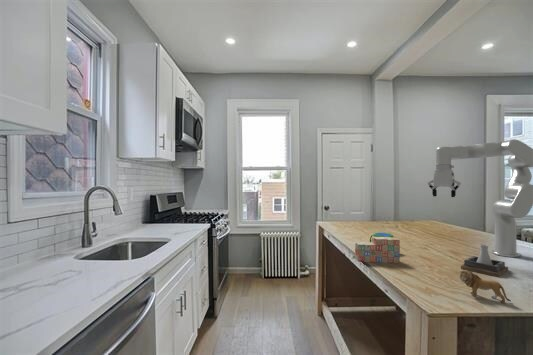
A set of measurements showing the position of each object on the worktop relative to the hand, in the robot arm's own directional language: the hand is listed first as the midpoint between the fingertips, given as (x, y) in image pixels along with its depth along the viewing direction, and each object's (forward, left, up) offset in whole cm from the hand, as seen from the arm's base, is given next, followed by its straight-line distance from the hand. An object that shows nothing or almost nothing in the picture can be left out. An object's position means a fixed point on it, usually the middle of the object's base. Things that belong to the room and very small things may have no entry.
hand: (443, 196), depth 162 cm
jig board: (+17, +24, -33) cm, 44 cm away
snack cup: (+24, -24, -34) cm, 48 cm away
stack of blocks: (+46, -15, -34) cm, 59 cm away
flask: (+17, +24, -32) cm, 43 cm away
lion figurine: (+56, +35, -34) cm, 74 cm away
